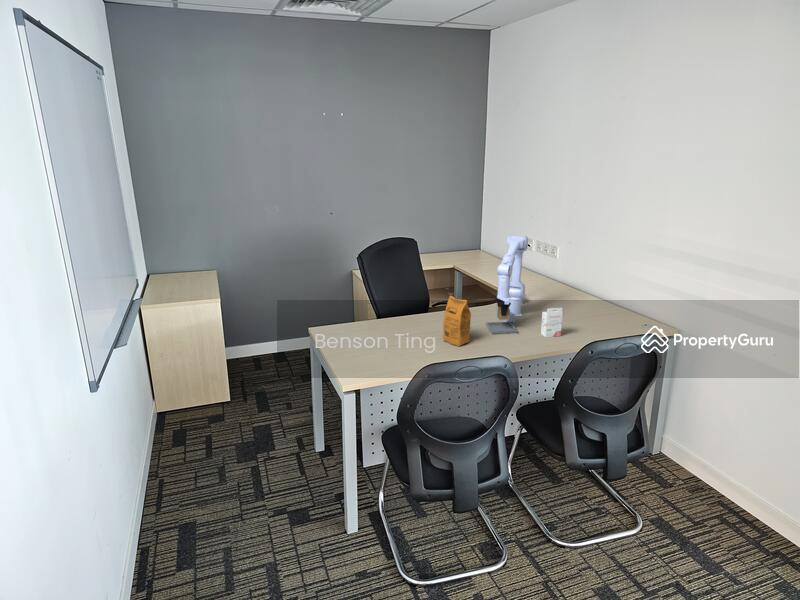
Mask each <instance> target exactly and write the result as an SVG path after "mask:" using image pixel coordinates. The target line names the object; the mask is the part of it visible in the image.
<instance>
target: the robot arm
mask: <svg viewBox="0 0 800 600" xmlns="http://www.w3.org/2000/svg"><path fill="white" fill-rule="evenodd" d="M506 239H507V240H506V241H507V243H506V245H507V247H508V250H507V253H505V254H504V255H503V258H502V260H501V263H499V264H498V265H497V270H496V271H497V273H496V274H497V279H498V283H497V296H496V297H495V298H494V299H495V302H496V304H497V308H498V307H501V315H502V316H506V314H507V311H508V308H509V309H510V312H512V313H514V314H515V317H524V315H523V314H522V304H521V299H523V298H524V296H525V294H526V285H525V284H524V283H523V282H522V281H521V279H522V278H521V277H522V276H521V275H522V269H523V268H522V267H523V259H524V258H523V255H524V252H526V251H527V250H528V245H529V238H528V236H527V235H525V236H524V235H513V234H509V235H508V236H507V238H506ZM513 286H514V287H513Z"/></svg>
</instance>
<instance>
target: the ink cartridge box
mask: <svg viewBox="0 0 800 600" xmlns="http://www.w3.org/2000/svg"><path fill="white" fill-rule="evenodd" d="M546 310H547V311H542V312H541V313H542V314H541V316H542V317H541V327H540V328H541V330H540V334H541V335H542V336H543V337H544V338H551V337H553V338H554V336H555V337H562V325H563V316H564V315H563V310H564V309H563V307H551V308H550V307H549V308H547V309H546Z"/></svg>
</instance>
